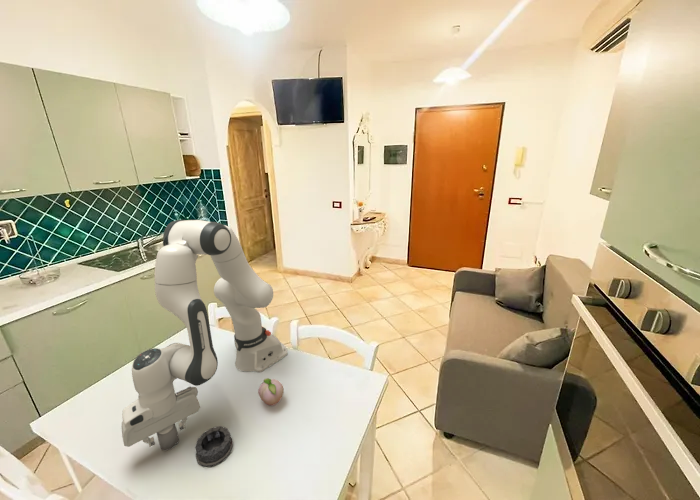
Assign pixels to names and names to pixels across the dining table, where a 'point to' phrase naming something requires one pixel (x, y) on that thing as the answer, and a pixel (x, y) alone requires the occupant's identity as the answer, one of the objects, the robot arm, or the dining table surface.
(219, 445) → the faceted grey ring
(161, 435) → the grey cylinder
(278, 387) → the decorative fruit
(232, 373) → the dining table surface
